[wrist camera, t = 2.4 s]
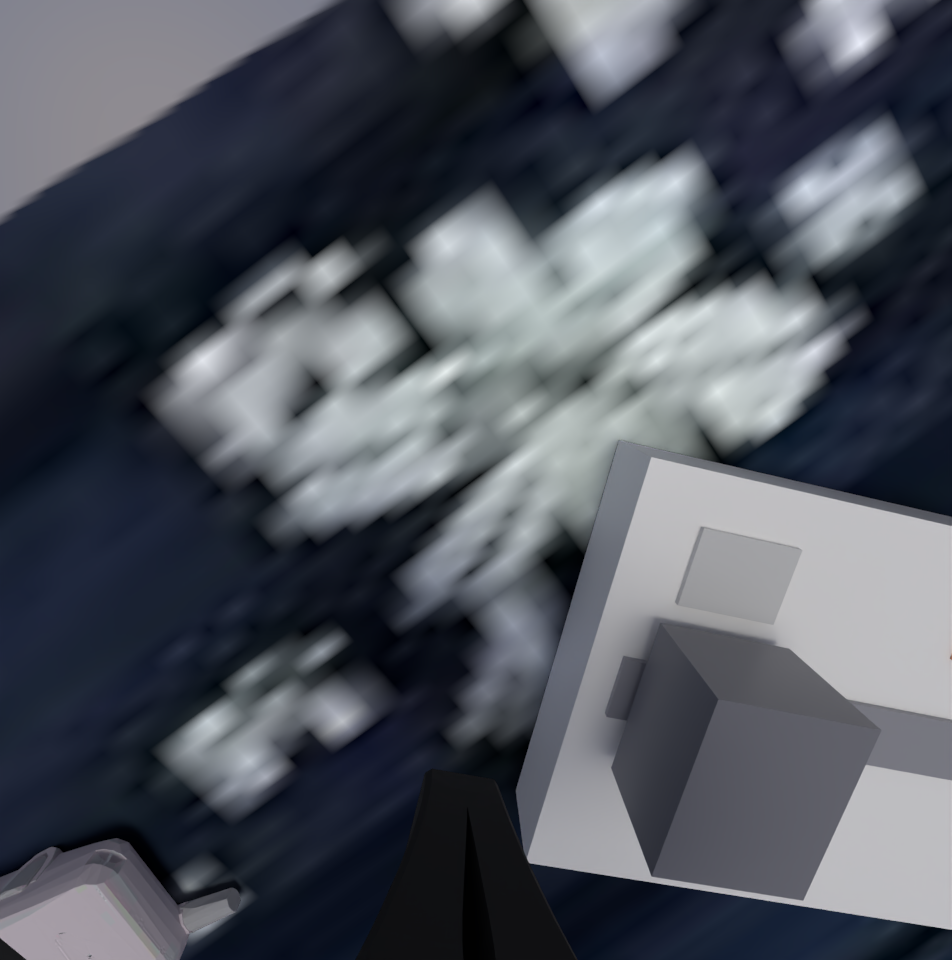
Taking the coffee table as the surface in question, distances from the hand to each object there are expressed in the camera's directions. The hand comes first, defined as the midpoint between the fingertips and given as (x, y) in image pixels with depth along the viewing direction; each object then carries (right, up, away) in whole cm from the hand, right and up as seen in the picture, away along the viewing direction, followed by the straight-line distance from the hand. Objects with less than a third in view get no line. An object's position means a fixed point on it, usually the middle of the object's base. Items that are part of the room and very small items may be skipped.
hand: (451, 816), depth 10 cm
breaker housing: (+11, -1, +10) cm, 15 cm away
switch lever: (+7, 0, +6) cm, 9 cm away
